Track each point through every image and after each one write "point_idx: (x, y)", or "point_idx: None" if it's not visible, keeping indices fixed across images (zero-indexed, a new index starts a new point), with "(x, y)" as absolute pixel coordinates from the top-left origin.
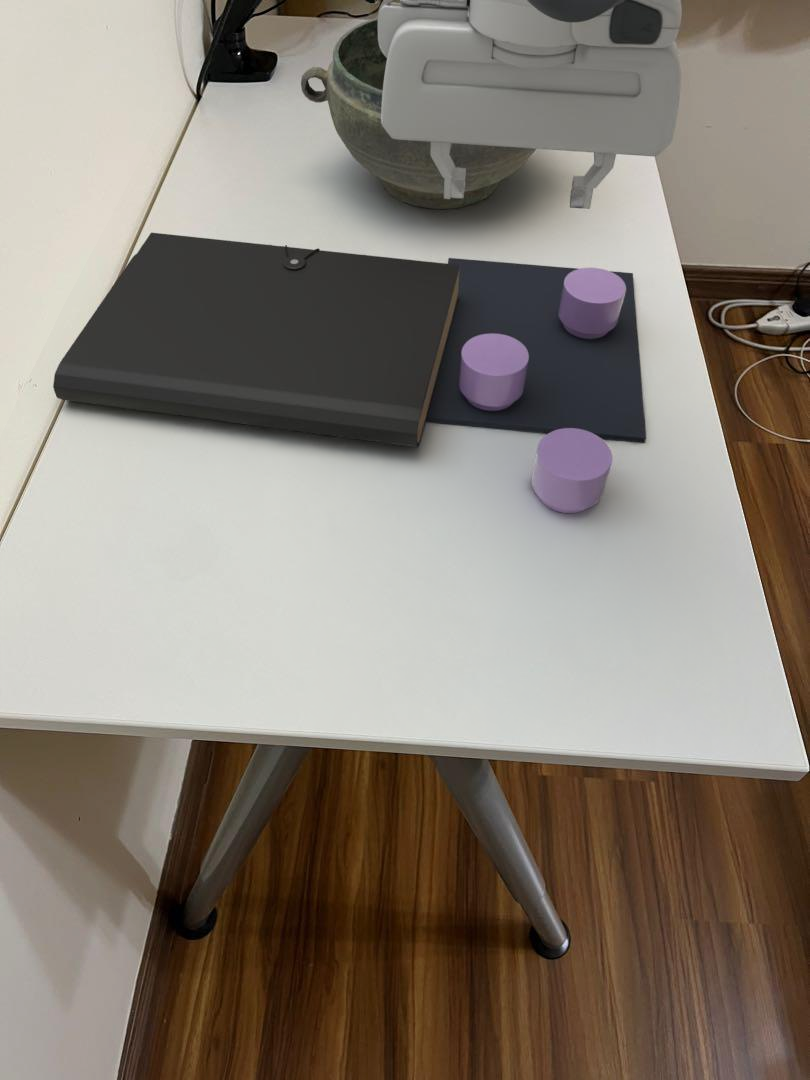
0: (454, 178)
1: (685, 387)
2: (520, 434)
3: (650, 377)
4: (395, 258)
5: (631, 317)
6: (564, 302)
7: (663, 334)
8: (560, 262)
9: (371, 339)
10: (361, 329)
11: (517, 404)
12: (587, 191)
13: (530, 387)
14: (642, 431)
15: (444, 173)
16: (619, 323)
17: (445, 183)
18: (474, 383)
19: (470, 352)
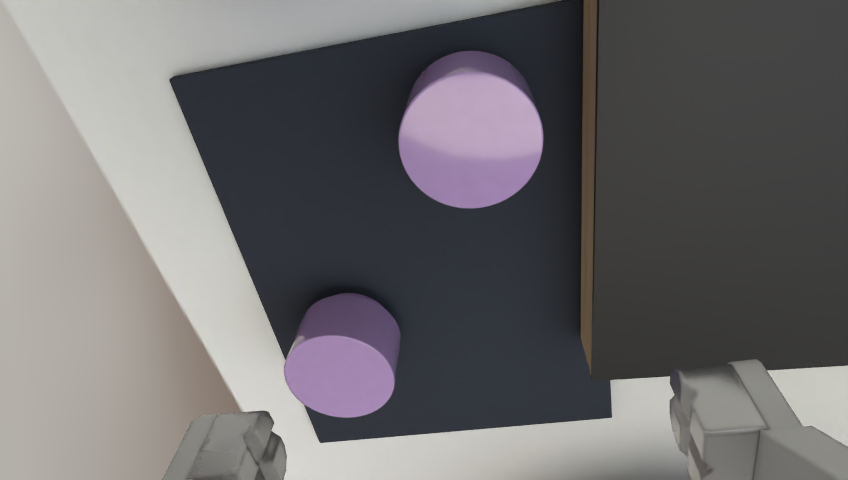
0: (752, 432)
1: (164, 231)
2: (389, 24)
3: (222, 239)
4: None
5: None
6: (385, 338)
7: (238, 336)
8: (432, 445)
9: (749, 131)
10: (775, 157)
11: None
12: (185, 467)
13: None
14: (180, 94)
15: (817, 443)
16: None
17: (785, 406)
18: (497, 67)
19: (523, 133)
